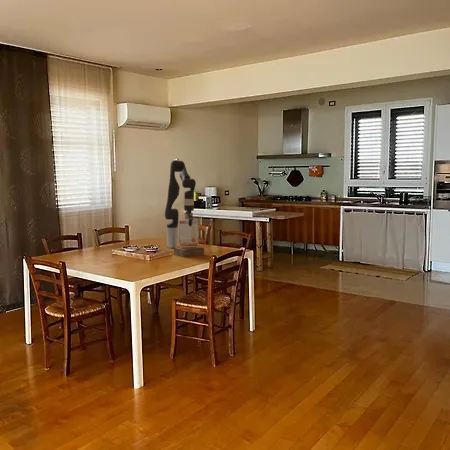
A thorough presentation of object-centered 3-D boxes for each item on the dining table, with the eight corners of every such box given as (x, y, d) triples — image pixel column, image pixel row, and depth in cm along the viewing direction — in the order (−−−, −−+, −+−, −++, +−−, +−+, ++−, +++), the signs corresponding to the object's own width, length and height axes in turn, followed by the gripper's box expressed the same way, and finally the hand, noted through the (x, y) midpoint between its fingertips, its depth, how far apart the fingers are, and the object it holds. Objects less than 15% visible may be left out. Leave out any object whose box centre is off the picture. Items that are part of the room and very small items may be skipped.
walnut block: (174, 255, 376) (174, 247, 375) (193, 252, 388) (193, 245, 387) (184, 257, 365) (184, 250, 365) (204, 255, 377) (204, 247, 376)
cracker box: (198, 245, 378) (198, 218, 375) (197, 246, 372) (197, 219, 369) (181, 244, 380) (180, 218, 377) (179, 245, 374) (179, 219, 371)
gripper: (182, 203, 377) (182, 224, 379) (186, 205, 364) (186, 226, 366) (191, 203, 380) (191, 224, 382) (195, 205, 366) (195, 226, 368)
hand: (189, 225), depth 374 cm, fingers closed on cracker box, 7 cm apart
